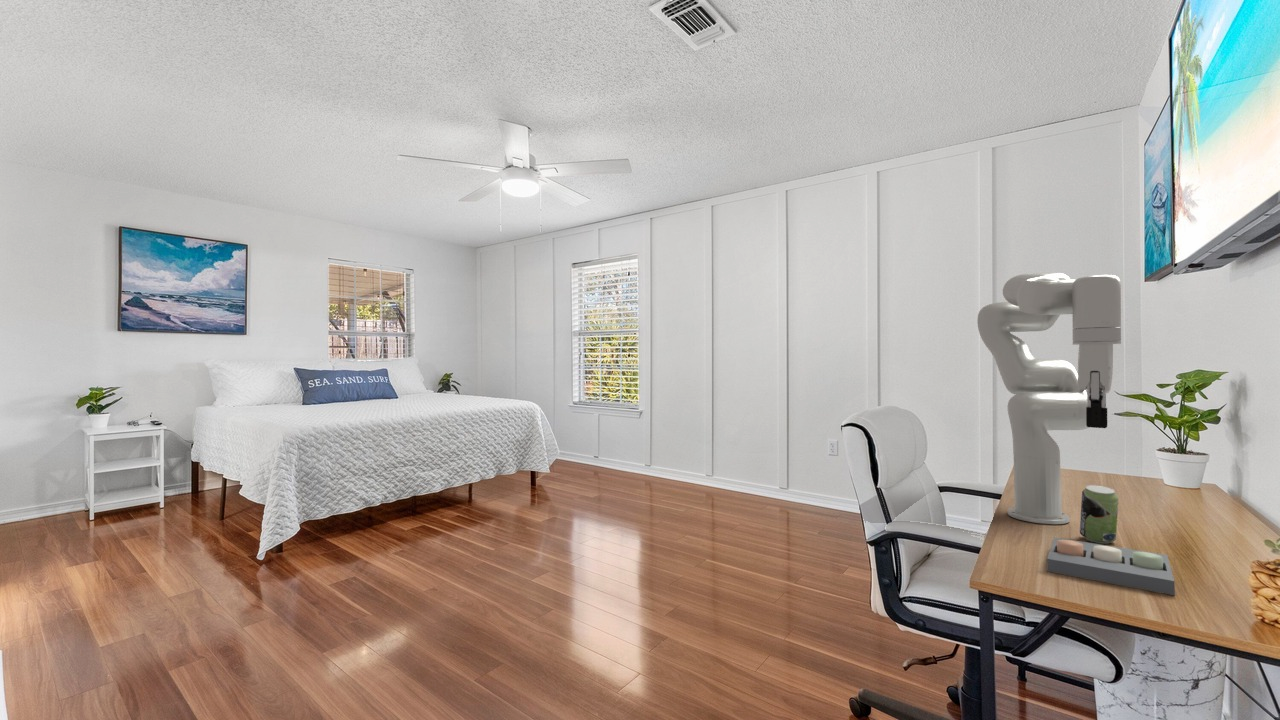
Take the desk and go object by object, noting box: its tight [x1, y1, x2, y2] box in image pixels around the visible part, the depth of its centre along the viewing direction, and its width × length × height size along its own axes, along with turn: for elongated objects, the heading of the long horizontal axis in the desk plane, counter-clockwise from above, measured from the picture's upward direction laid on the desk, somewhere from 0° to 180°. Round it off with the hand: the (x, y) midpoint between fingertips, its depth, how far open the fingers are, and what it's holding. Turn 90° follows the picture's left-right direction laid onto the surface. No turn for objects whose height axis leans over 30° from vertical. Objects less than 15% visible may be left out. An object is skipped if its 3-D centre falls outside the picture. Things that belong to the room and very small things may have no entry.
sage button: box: [1132, 551, 1163, 570], centre depth 98 cm, size 4×4×4 cm
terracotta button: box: [1057, 539, 1084, 557], centre depth 105 cm, size 4×4×4 cm
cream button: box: [1093, 544, 1122, 563], centre depth 101 cm, size 4×4×4 cm
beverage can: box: [1079, 484, 1119, 545], centre depth 118 cm, size 6×7×12 cm
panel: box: [1046, 537, 1176, 596], centre depth 102 cm, size 16×17×2 cm
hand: (1096, 427), depth 110 cm, fingers closed
